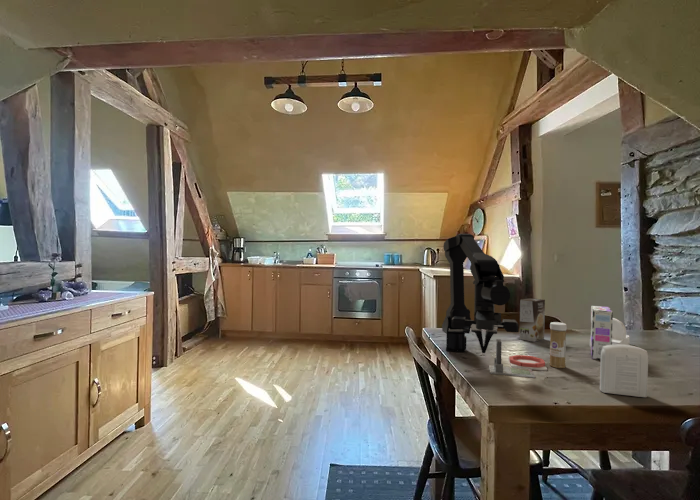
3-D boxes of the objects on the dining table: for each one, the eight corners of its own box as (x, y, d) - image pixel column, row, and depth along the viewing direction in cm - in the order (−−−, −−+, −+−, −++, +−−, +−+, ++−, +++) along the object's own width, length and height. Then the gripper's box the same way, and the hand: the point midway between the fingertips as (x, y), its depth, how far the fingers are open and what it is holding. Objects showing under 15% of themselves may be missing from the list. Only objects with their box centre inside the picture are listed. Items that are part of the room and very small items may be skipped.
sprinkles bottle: (547, 366, 125) (548, 323, 125) (551, 363, 129) (552, 321, 129) (564, 369, 122) (564, 325, 122) (567, 366, 126) (568, 323, 126)
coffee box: (535, 342, 158) (535, 301, 158) (518, 339, 163) (519, 299, 163) (544, 338, 164) (545, 299, 164) (528, 336, 169) (529, 297, 169)
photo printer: (643, 393, 103) (644, 344, 103) (650, 399, 99) (651, 348, 99) (597, 388, 106) (598, 341, 106) (602, 394, 102) (603, 345, 102)
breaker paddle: (496, 369, 118) (497, 342, 118) (495, 365, 122) (496, 338, 122) (501, 369, 118) (501, 342, 118) (500, 365, 122) (500, 339, 122)
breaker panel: (490, 373, 117) (490, 363, 117) (488, 366, 124) (489, 357, 124) (535, 377, 114) (535, 367, 114) (531, 370, 121) (531, 360, 121)
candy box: (612, 361, 132) (613, 311, 132) (591, 359, 134) (592, 309, 134) (609, 352, 144) (610, 306, 144) (590, 350, 147) (590, 304, 146)
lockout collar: (511, 367, 124) (511, 362, 124) (508, 359, 133) (508, 354, 133) (547, 370, 121) (547, 365, 121) (541, 361, 131) (541, 356, 131)
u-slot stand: (630, 344, 157) (630, 316, 157) (619, 352, 144) (619, 322, 144) (601, 340, 164) (602, 313, 164) (588, 348, 151) (589, 319, 151)
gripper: (451, 302, 116) (450, 356, 116) (521, 306, 111) (520, 363, 111) (452, 298, 127) (452, 347, 127) (516, 301, 122) (516, 353, 122)
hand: (483, 352), depth 121 cm, fingers closed
